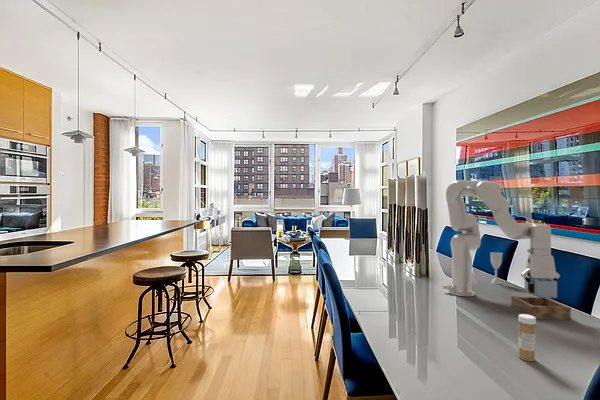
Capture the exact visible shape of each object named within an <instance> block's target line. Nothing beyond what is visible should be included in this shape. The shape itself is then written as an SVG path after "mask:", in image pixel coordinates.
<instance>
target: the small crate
mask: <svg viewBox="0 0 600 400" xmlns="http://www.w3.org/2000/svg"><path fill="white" fill-rule="evenodd" d="M526 276H527V275H526ZM527 277H529V276H527ZM533 284H534V293H531V292H529V291H528V283H527V282H526V280H525V279H524V292H526V293H528V294H531V295H532V296H534V297H539V298H550V299H558V280H557V281H554V280H551V279H534V282H533Z"/></svg>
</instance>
